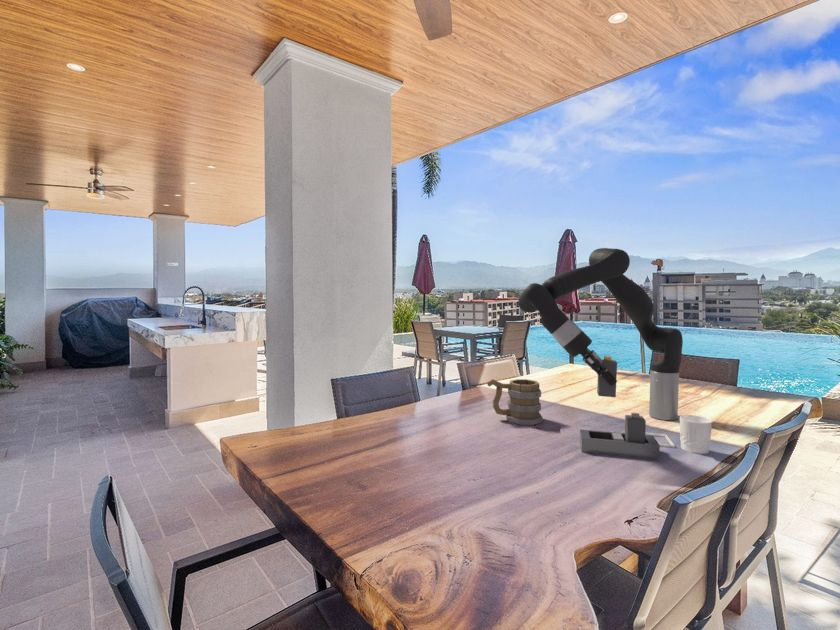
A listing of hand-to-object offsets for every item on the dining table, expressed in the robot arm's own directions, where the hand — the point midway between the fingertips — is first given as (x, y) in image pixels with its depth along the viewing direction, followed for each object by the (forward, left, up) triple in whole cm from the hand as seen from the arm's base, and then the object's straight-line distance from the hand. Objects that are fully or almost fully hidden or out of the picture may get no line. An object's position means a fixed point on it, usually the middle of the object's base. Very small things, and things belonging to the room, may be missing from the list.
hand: (613, 381), depth 122 cm
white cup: (-7, +23, -21) cm, 32 cm away
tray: (-11, +13, -21) cm, 27 cm away
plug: (0, -2, -4) cm, 5 cm away
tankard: (-24, -30, -21) cm, 44 cm away
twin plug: (+1, +6, -20) cm, 21 cm away
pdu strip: (+1, +1, -21) cm, 21 cm away
